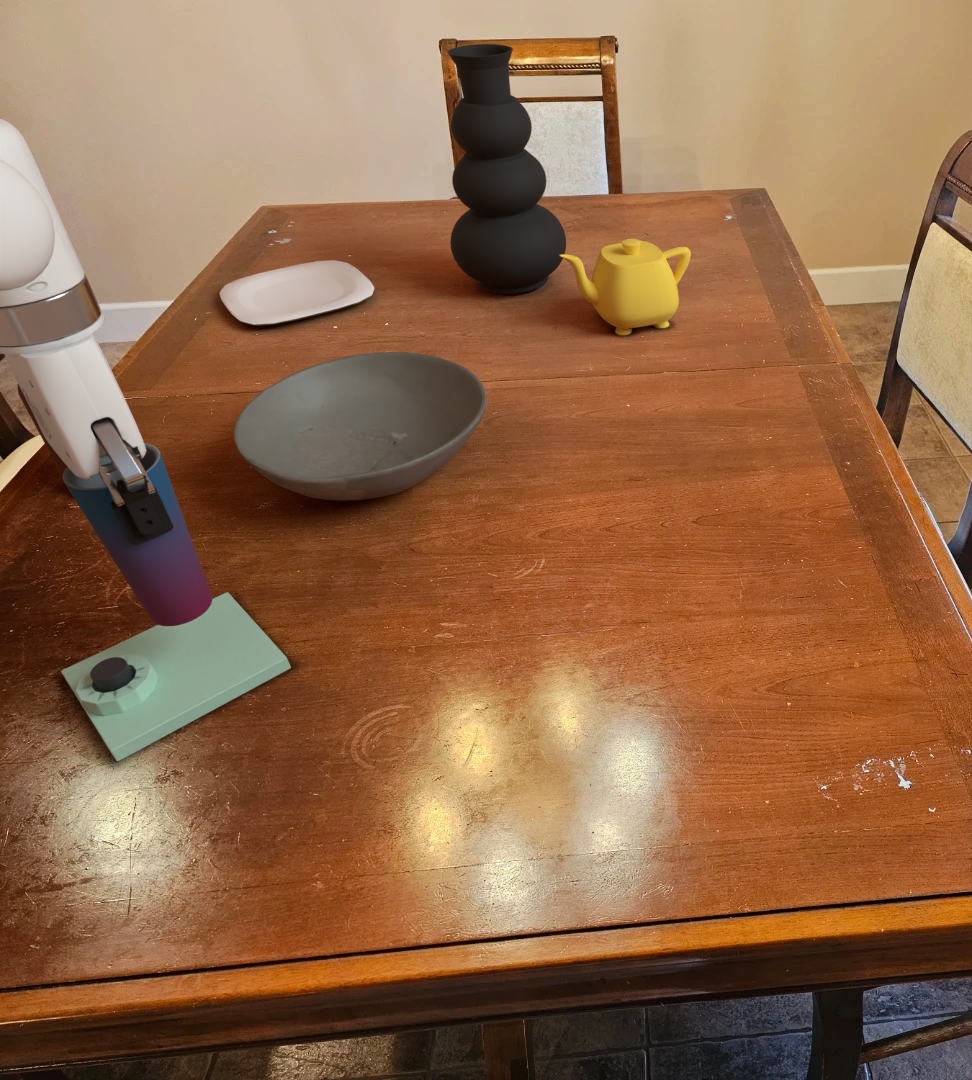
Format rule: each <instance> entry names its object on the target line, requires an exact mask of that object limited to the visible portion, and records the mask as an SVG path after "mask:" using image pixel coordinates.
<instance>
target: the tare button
mask: <svg viewBox="0 0 972 1080" xmlns="http://www.w3.org/2000/svg"><path fill="white" fill-rule="evenodd" d="M90 677H91V679H92V680H93V682H94V683H95V685H96V687H97V688H98V690H99V691H101V692H105V693H107V692H112V691H116V690H118V689H120V688H122V687H124V686H126V685H127V684H128V683H129V682H130V681H131V680H132V679H133V672H132V670H131V669H130V667H129V665H128V663H127V662H126V660H125V659H123V658H120V657H113V658H108V659H105V660H103V661H101V662H99V663H98V664H97V665H95V666H94V667H93V669H92V670H91V673H90Z"/></svg>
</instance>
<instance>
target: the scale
mask: <svg viewBox="0 0 972 1080" xmlns="http://www.w3.org/2000/svg"><path fill="white" fill-rule="evenodd" d="M113 657H120V658H123V659H125V660H126V662H127V663H128V665H129V667H130V669H131V670H132V672H133V679H132V680H131V681H130V682H129V683H128V684H127V685H126V686H124V687H122V688H120V689H118V690H116V691H112V692H107V693H105V692H101V691H99V690H98V688H97V687H96V685H95V683H94V682H93V680H92V679H91V677H90V673H91V670H92V669H93V667H94V666H95V665H97V664H98V663H99V662H101V661H103V660H105V659H108V658H113ZM291 668H292V667H291V665H290V662H289V660H288V658H287V656H286V655H285V654H284V652H282V651H281V649H280V648H279V647H278V646H277V644H275V643H274V641H272V640H271V638H270V637H269V636H268V635H267V634H266V633H265V631H263V630H262V628H261V627H260V626H259V625H258V624H257V623H256V622H255V620H253V618H252V617H251V616H250V615H249V614H248V613H247V612H246V610H244V609H243V607H242V606H241V605H240V603H238V602H237V600H235V599H234V597H233V596H232V595H231V594H230V593H229V592H228V591H227V592H224V593H222V594H220V595H217V596H216V597H214V598H212V603H211V605H210V607H209V609H208V610H207V611H206V612H205V613H204V614H202V615H201V616H200V617H198V618H196V619H195V620H193V621H190V622H188V623H185V624H182V625H177V626H161V625H157V624H156V625H155V626H152V627H150V628H149V629H148V628H147V629H146V630H144V631H142V632H140V633H138V634H136V635H133V636H131V637H129V638H127V639H125V640H123V641H121V642H118V643H116V644H114V645H112V646H110V647H108V648H106V649H104V650H102V651H100V652H98V653H95V654H93V655H91V656H89V657H88V658H87V657H86V658H85V659H83V660H80V661H79V662H77V663H74V664H71V665H70V666H68V667H66V668H64V669H62V670H60V673H61V674H62V676H63V678H64V679H65V681H66V682H67V684H68V686H69V688H70V689H71V690H72V693H74V695H75V697H76V699H77V700H78V702H79V704H80V705H81V707H82V708H83V710H84V712H85V713H86V715H87V716H88V718H89V719H90V722H91V723H92V725H93V727H95V729H96V731H97V732H98V735H99V736H100V737H101V739H102V740H103V742H104V744H105V745H106V747H107V749H108V750H109V752H110V754H111V755H112V756H113V759H114V760H115V761H116V762H118V763H119V762H120V761H122V760H124V759H125V758H127V757H129V756H131V755H133V754H134V753H136V752H139V751H140V750H142V749H144V748H146V747H148V746H150V745H151V744H153V743H155V742H158V741H159V740H160V739H163V738H164V737H166V736H169V735H170V734H172V733H173V732H175V731H177V730H179V729H181V728H184V727H185V726H186V725H189V724H190V723H192V722H194V721H196V720H198V719H199V718H201V717H203V716H205V715H207V714H208V713H209V714H210V712H211V713H212V712H213V711H215V710H216V709H218V708H220V707H222V706H224V705H225V704H227V703H230V702H231V701H233V700H235V699H237V698H238V697H240V696H243V695H245V694H246V693H248V692H250V691H252V690H253V689H255V688H257V687H259V686H260V685H262V684H264V683H266V682H269V681H270V680H272V679H274V678H276V677H277V676H279V675H281V674H283V673H285V672H287V671H288V670H290V669H291Z"/></svg>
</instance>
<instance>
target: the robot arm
mask: <svg viewBox="0 0 972 1080" xmlns="http://www.w3.org/2000/svg"><path fill="white" fill-rule="evenodd" d="M33 155H34V154H33V153H32V151H31V149H30V147H29V145H28V143H27V141H26V139H25V138H24V135H22V133H21V132H20V131H19V129H17V128H16V126H14V125H13V124H12V123H10V122H9V121H7V120H5V119H2V118H0V355H4V357H5V360H6V361H7V363H8V366H9V368H10V370H11V372H12V374H13V376H14V378H15V380H16V382H17V385H18V384H19V386H20V388H21V390H22V392H23V394H24V396H25V398H26V400H27V402H28V404H29V406H30V408H31V410H32V412H33V414H34V416H35V418H36V421H37V423H38V425H39V427H40V429H41V431H42V433H43V435H44V437H45V438H46V440H47V442H48V443H49V444H50V446H51V447H52V448H53V449H54V451H55V452H56V453H57V454H58V456H59V457H60V458H61V459H62V461H63V462H64V463H65V464H66V465H67V466H68V468H69V469H70V470H71V471H72V472H73V473H74V474H75V475H76V476H77V477H79V478H82V479H89V478H90V476H92V475H95V474H99V476H100V477H101V479H102V481H103V483H104V485H105V486H106V488H107V490H108V492H109V493H110V495H111V497H112V499H113V502H111V503H110V504H111V506H112V508H113V510H114V512H115V514H116V516H117V518H118V520H119V522H120V524H121V526H122V528H123V530H124V532H125V534H126V536H127V538H128V540H129V541H130V542H131V544H133V545H139V544H141V543H143V542H146V541H148V540H150V539H153V538H155V537H158V536H160V535H162V534H165V533H167V532H169V531H171V530H172V529H173V527H174V526H173V524H172V521H171V519H170V517H169V515H168V513H167V511H166V509H165V506H164V504H163V502H162V500H161V498H160V496H159V494H158V491H157V489H156V488H155V487H154V486H153V484H152V483H151V481H150V479H149V477H148V475H147V473H146V472H145V470H144V468H143V466H142V464H141V462H140V460H139V458H140V459H142V458H143V457H144V456H145V454H146V447H145V444H144V443H145V442H144V439H143V437H142V434H141V432H140V430H139V427H138V424H137V422H136V420H135V417H134V416H133V413H132V411H131V409H130V407H129V405H128V402H127V399H126V398H125V396H124V394H123V391H122V389H121V387H120V385H119V383H118V381H117V379H116V376H115V374H114V373H113V371H112V368H111V366H110V364H109V361H108V359H107V358H106V356H105V354H104V352H103V350H102V348H101V346H100V344H99V341H98V340H97V337H96V336H95V334H94V333H96V332H98V330H99V329H101V328H102V326H103V325H104V323H105V319H106V318H105V315H104V313H103V311H102V309H101V306H100V305H99V302H98V300H97V297H96V295H95V293H94V290H93V288H92V286H91V284H90V281H89V279H88V277H87V275H86V273H85V269H84V268H83V266H82V264H81V261H80V259H79V256H78V254H77V252H76V250H75V248H74V246H73V244H72V241H71V239H70V236H69V234H68V232H67V230H66V228H65V226H64V223H63V221H62V219H61V216H60V214H59V211H58V209H57V207H56V205H55V203H54V201H53V198H52V196H51V194H50V191H49V189H48V187H47V184H46V183H45V180H44V177H43V176H42V173H41V171H40V168H39V167H38V165H37V162H36V160H35V157H34V156H33ZM105 456H108V457H109V459H110V461H111V462H110V463H107V464H104V465H101V463H100V458H102V457H105ZM138 457H139V458H138ZM113 471H117V472H118V475H119V478H120V479H121V480H118V481H117V486H116V485H115V483H114V481H113V480H112V478H111V476H110V474H109V473H111V472H113Z"/></svg>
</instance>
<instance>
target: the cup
mask: <svg viewBox="0 0 972 1080" xmlns="http://www.w3.org/2000/svg"><path fill="white" fill-rule="evenodd" d="M144 444H145V447H146V454H145V456H144V457H143V458H142V459H140V458H139V457H138V458H139V460H140V462H141V464H142V466H143V468H144V470H145V472H146V473H147V475H148V477H149V479H150V481H151V483H152V484H153V486H154V487H155V488H156V489H157V491H158V494H159V496H160V498H161V500H162V502H163V504H164V506H165V509H166V511H167V513H168V515H169V517H170V519H171V521H172V524H173V526H174V527H173V529H172V530H171V531H169V532H167V533H165V534H162V535H160V536H158V537H155V538H153V539H150V540H148V541H146V542H143V543H141V544H139V545H133V544H131V542H130V541H129V540H128V538H127V536H126V534H125V532H124V530H123V528H122V526H121V524H120V522H119V520H118V518H117V516H116V514H115V512H114V510H113V508H112V506H111V504H110V503H111V502H113V499H112V497H111V495H110V493H109V492H108V490H107V488H106V486H105V485H104V483H103V481H102V479H101V477H100V476H99V474H95V475H92V476H90V478H89V479H82V478H79V477H77V476H76V475H75V474H74V473H73V472H72V471H71V470H70V469H69V468H68V467H67V468H66V469H65V471H64V473H63V477H62V481H63V484H64V485H65V486H66V488H67V489H68V492H69V493H70V494H71V495H72V498H73V499H74V501H75V502H76V504H77V505H78V507H79V508H80V510H81V512H82V513H83V515H84V516H85V518H86V519H87V521H88V522H89V524H90V526H91V527H92V529H93V530H94V533H96V535H97V537H98V538H99V539H100V541H101V543H102V544H103V546H104V548H105V549H106V551H107V552H108V554H109V556H110V558H111V559H112V560H113V562H114V564H115V565H116V567H117V568H118V570H119V571H120V573H121V575H122V576H123V578H124V579H125V581H126V583H127V584H128V586H129V587H130V589H131V590H132V592H133V594H134V595H135V597H136V598H137V600H138V601H139V604H140V605H141V606H142V608H143V609H144V611H145V612H146V615H147V616H148V617H149V619H150V620H151V621H152V622H153V623H154V624H156V626H157V625H161V626H177V625H182V624H185V623H188V622H190V621H193V620H195V619H196V618H198V617H200V616H201V615H202V614H204V613H205V612H206V611H207V610H208V609H209V607H210V605H211V603H212V599H213V594H212V593H211V589H210V587H209V584H208V582H207V581H208V580H207V579H206V576H205V573H204V569H203V567H202V564H201V561H200V559H199V556H198V554H197V551H196V548H195V545H194V543H193V542H194V541H193V540H192V536H191V534H190V532H189V529H188V526H187V523H186V521H185V517H184V515H183V512H182V509H181V507H180V504H179V501H178V497H177V495H176V493H175V489H174V487H173V484H172V481H171V479H170V476H169V473H168V471H167V468H166V465H165V462H164V460H163V457H162V453H161V450H160V449H159V448H158V447H156V446H155V445H153V444H150V443H147V442H144ZM110 462H111V461H110V459H109V457H108V456H105V457H102V458H100V463H101V465H104V464H107V463H110ZM109 474H110V476H111V478H112V480H113V481H114V483H115V485H116V486H117V481H118V480H121V479H120V478H119V475H118V472H117V471H113V472H111V473H109Z"/></svg>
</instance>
